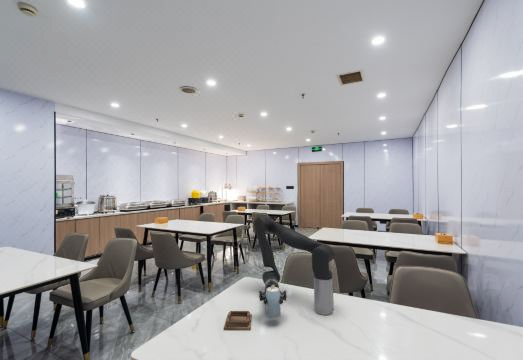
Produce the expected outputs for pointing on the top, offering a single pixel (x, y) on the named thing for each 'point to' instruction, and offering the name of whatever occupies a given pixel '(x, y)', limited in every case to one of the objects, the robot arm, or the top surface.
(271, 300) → the candle jar
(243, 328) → the tray
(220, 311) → the top surface
